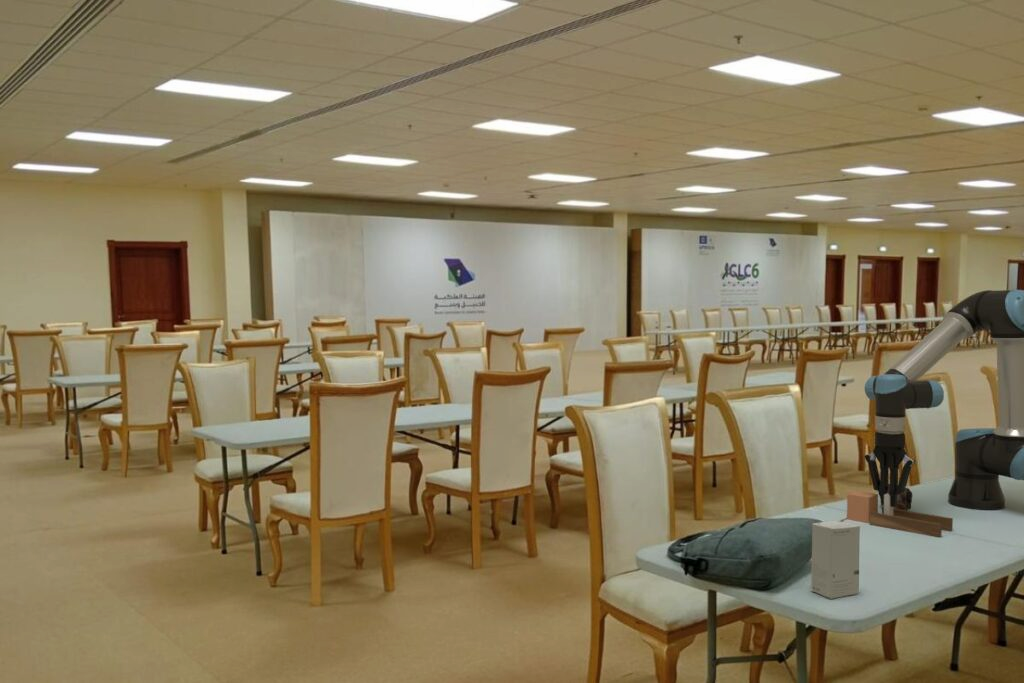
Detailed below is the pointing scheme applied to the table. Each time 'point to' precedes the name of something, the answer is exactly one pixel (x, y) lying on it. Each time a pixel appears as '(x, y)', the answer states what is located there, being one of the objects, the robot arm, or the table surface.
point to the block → (861, 505)
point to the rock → (902, 499)
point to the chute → (912, 522)
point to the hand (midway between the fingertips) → (888, 517)
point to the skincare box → (835, 559)
